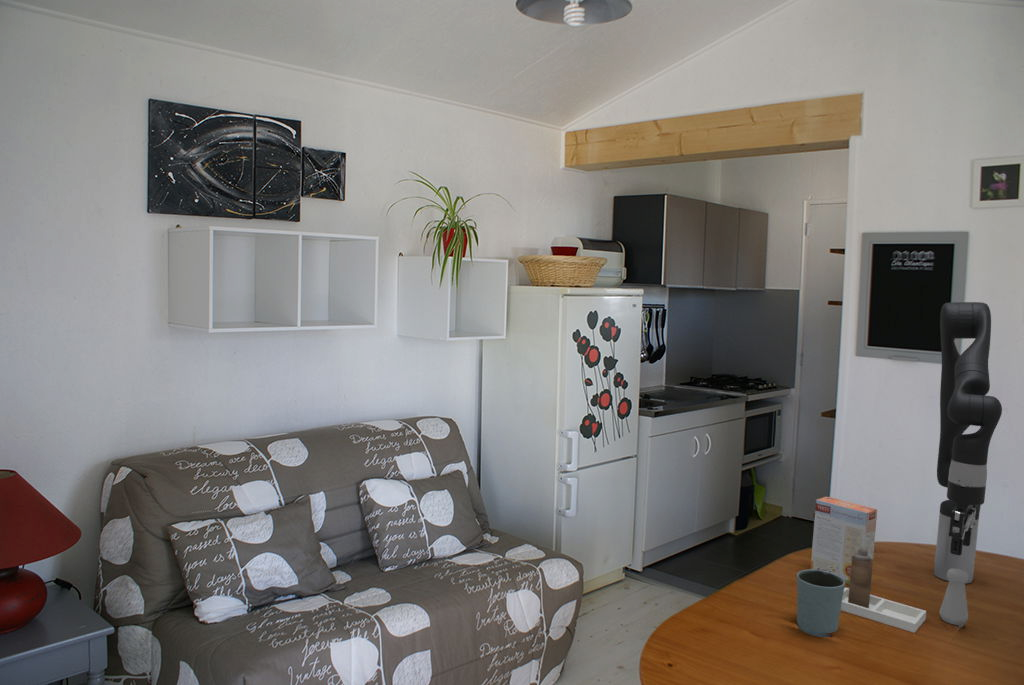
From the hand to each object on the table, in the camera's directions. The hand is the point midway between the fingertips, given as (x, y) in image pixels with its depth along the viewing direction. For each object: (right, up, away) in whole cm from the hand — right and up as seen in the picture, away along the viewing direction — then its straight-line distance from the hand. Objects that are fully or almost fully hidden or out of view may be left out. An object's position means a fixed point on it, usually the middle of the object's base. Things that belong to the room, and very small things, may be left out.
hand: (960, 549), depth 183 cm
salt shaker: (-1, -18, +2) cm, 18 cm away
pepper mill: (-21, -16, +7) cm, 27 cm away
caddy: (-17, -17, +4) cm, 24 cm away
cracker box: (-17, -15, +25) cm, 34 cm away
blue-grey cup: (-34, -17, -3) cm, 39 cm away
